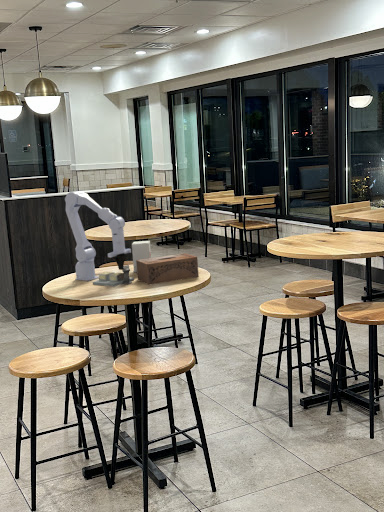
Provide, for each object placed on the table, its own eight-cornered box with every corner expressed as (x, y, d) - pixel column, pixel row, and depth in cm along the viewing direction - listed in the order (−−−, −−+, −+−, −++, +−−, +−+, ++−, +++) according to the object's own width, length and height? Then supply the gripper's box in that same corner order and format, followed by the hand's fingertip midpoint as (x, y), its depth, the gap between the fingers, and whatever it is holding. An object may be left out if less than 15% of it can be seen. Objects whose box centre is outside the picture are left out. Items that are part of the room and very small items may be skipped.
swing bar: (122, 267, 317) (122, 264, 317) (129, 267, 317) (129, 263, 317) (122, 274, 299) (122, 270, 299) (130, 273, 300) (130, 269, 299)
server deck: (92, 284, 306) (91, 272, 305) (112, 278, 317) (111, 267, 316) (120, 287, 295) (119, 275, 294) (140, 280, 306) (139, 269, 305)
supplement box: (151, 271, 328) (148, 242, 325) (133, 272, 328) (131, 244, 326) (152, 268, 337) (150, 240, 334) (135, 269, 337) (133, 241, 335)
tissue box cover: (186, 272, 319) (184, 253, 318) (198, 277, 306) (197, 256, 305) (137, 280, 309) (136, 260, 307) (148, 285, 296) (146, 264, 294)
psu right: (109, 281, 304) (108, 274, 304) (118, 278, 309) (117, 272, 309) (117, 281, 301) (116, 275, 301) (125, 279, 306) (125, 272, 306)
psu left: (98, 280, 309) (98, 273, 308) (107, 277, 313) (107, 271, 313) (106, 281, 306) (105, 274, 305) (115, 278, 311) (114, 271, 310)
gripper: (114, 244, 302) (116, 272, 304) (134, 240, 313) (137, 267, 315) (103, 244, 306) (106, 272, 308) (124, 239, 317) (126, 266, 320)
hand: (121, 269), depth 312 cm, fingers closed, pressing on swing bar
